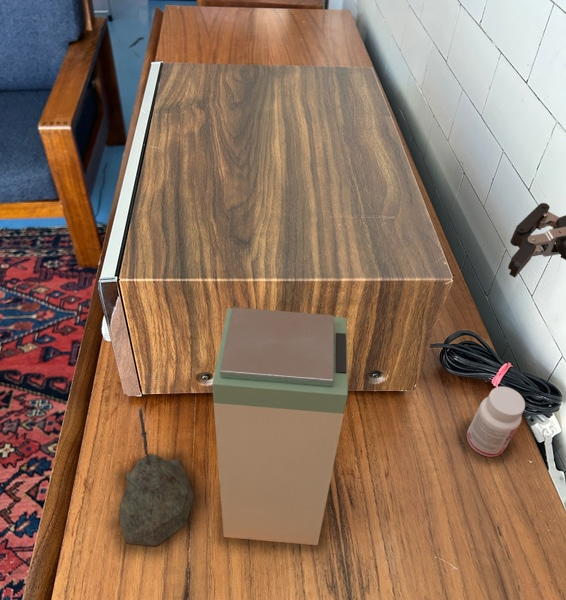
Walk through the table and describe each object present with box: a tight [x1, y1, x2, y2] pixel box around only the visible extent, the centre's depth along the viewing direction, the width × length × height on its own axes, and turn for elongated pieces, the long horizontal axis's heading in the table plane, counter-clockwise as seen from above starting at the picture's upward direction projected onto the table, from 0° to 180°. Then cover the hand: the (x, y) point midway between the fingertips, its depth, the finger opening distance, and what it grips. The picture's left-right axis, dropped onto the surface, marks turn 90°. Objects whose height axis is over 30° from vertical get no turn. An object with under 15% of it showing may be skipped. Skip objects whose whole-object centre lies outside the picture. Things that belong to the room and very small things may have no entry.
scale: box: [211, 306, 349, 415], centre depth 45 cm, size 10×8×3 cm
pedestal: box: [213, 402, 345, 546], centre depth 54 cm, size 10×8×24 cm
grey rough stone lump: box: [118, 408, 195, 547], centre depth 58 cm, size 10×8×12 cm
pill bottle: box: [466, 386, 526, 458], centre depth 67 cm, size 5×5×8 cm
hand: (550, 292), depth 61 cm, fingers open, 8 cm apart
